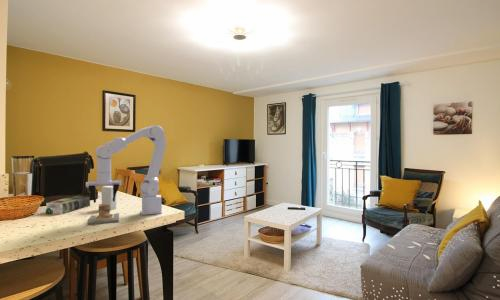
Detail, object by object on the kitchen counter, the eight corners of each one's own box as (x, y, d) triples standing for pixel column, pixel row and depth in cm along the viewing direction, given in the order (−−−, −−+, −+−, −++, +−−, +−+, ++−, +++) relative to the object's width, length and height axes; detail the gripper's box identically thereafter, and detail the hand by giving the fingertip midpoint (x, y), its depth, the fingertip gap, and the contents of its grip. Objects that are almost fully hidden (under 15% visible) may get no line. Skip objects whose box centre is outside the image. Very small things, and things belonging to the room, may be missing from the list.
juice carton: (60, 215, 138) (60, 202, 138) (43, 214, 139) (43, 202, 139) (90, 206, 157) (90, 195, 157) (75, 205, 159) (75, 194, 159)
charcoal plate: (119, 215, 138) (119, 212, 138) (118, 222, 127) (118, 218, 127) (90, 217, 133) (90, 214, 133) (88, 224, 122) (87, 221, 122)
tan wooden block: (110, 216, 133) (110, 203, 133) (109, 218, 129) (109, 205, 129) (99, 216, 131) (99, 204, 131) (98, 219, 127) (98, 206, 127)
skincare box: (116, 208, 152) (116, 186, 151) (110, 210, 148) (110, 187, 147) (107, 207, 154) (107, 185, 153) (101, 209, 149) (101, 186, 149)
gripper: (121, 170, 136) (121, 198, 137) (86, 171, 130) (87, 201, 131) (121, 172, 130) (121, 201, 130) (85, 173, 124) (85, 204, 124)
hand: (104, 201), depth 130 cm, fingers open, 7 cm apart
